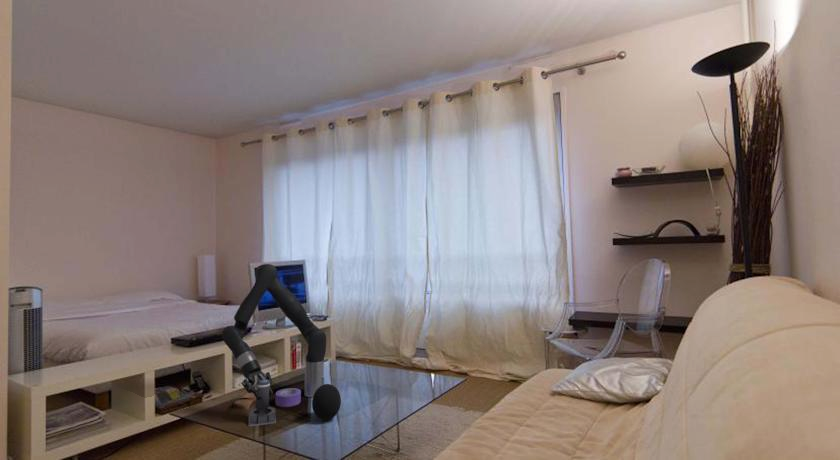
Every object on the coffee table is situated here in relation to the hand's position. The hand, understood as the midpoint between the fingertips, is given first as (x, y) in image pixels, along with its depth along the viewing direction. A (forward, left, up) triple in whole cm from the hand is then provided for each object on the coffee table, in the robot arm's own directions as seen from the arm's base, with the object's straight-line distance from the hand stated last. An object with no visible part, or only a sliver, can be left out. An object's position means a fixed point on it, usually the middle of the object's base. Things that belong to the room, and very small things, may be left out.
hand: (265, 396), depth 176 cm
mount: (+1, -1, -10) cm, 10 cm away
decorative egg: (-25, +7, -10) cm, 28 cm away
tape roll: (-11, -19, -11) cm, 25 cm away
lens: (+1, -1, -5) cm, 5 cm away
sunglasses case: (+7, -25, -11) cm, 28 cm away
